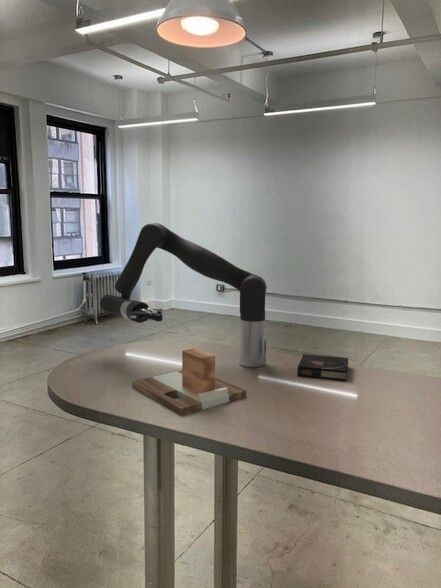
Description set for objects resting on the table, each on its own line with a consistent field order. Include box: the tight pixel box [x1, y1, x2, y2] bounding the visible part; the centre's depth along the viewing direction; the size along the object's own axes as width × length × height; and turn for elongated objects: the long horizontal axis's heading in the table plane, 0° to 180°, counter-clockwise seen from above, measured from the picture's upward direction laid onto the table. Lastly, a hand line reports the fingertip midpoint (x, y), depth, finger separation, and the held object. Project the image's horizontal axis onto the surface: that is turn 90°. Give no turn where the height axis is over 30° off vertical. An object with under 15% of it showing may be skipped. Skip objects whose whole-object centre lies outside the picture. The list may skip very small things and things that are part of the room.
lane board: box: [132, 369, 247, 416], centre depth 154 cm, size 24×28×4 cm
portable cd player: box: [296, 353, 349, 382], centre depth 176 cm, size 16×17×4 cm
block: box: [181, 347, 216, 396], centre depth 149 cm, size 5×10×12 cm, turn 39°
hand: (160, 318), depth 164 cm, fingers closed
